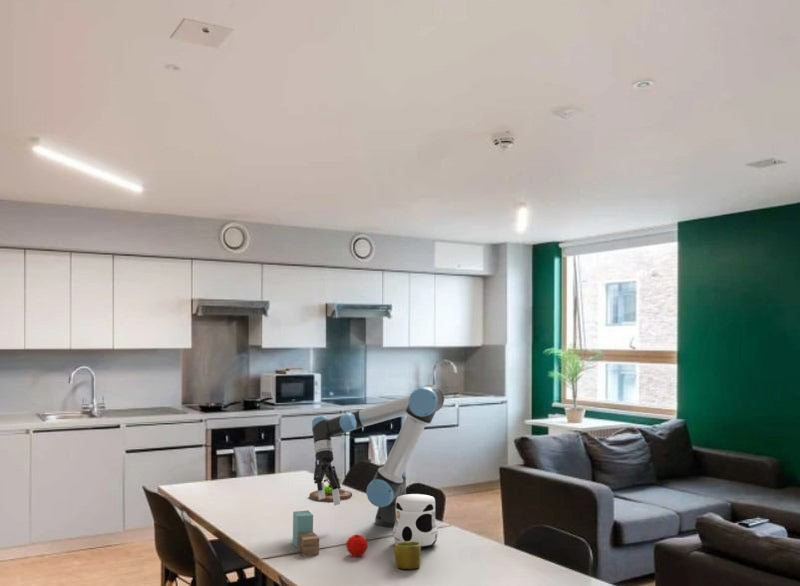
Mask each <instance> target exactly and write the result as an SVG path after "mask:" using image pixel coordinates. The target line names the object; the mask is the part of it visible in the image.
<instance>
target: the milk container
mask: <svg viewBox="0 0 800 586" xmlns="http://www.w3.org/2000/svg"><path fill="white" fill-rule="evenodd" d="M392 532H393V534H392V536H393V540H394V542H395V544H396V543H399V542H406V541H410V542H418V543H420V545H421V549H424V548H428V547H432V546H433V545H435V544H436V542H437V539H438V534H439V533H438V527H437V524H436V499H435V497H434V496H431V495H428V494H421V493H410V494H409V493H408V494H407V493H406V495H401V496H398V497H397V498H396V521H395V525H394V527H393V530H392Z"/></svg>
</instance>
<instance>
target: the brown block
mask: <svg viewBox="0 0 800 586" xmlns="http://www.w3.org/2000/svg"><path fill="white" fill-rule="evenodd" d="M297 551H298V552H299V553H300V554H301V555H302V556H303V557H309V556H316V555H317V556H318V555H320V537H319V536H318V535H317V534H316V532H314V531H313V532H307V533H298V548H297Z"/></svg>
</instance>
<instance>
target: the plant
mask: <svg viewBox="0 0 800 586" xmlns="http://www.w3.org/2000/svg"><path fill="white" fill-rule="evenodd" d="M338 480H339V483H340V482H341V479H340V478H338ZM323 482H324V483H326V482H327V485H325V484H324V490H325V498H324V499H321V500H319V497H318V490H314V491H311V492H310V493H309V498H310V499H311V500H312V501H316V502H327V503H334V502H333V494H332V490H333V488H332V486H331V484H330V481H329V479H328V477H326V478H323ZM339 497H340V502H342V501H345V500H346V501H347V500H349V499H351V498H352V497H353V492H351V491H349V490H345V489H342V488H340V489H339Z"/></svg>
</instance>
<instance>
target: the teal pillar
mask: <svg viewBox="0 0 800 586" xmlns="http://www.w3.org/2000/svg"><path fill="white" fill-rule="evenodd" d="M292 514H293V516H292V544H293V545H294V547H296V549H298V533H307V532H314V514H313V513H312V512H310V511H309V510H299V511H293V512H292Z"/></svg>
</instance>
